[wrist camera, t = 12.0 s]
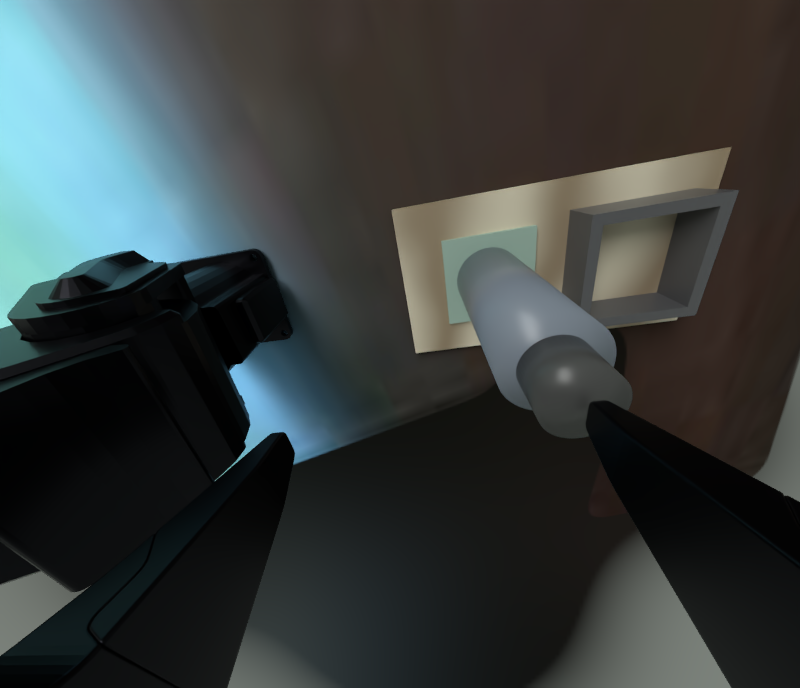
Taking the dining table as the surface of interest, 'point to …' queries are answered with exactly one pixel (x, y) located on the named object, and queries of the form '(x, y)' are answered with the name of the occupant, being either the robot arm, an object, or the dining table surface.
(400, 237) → the board
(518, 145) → the dining table surface
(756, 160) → the dining table surface
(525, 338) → the capped bottle
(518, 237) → the pad
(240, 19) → the dining table surface
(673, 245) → the gray square frame
